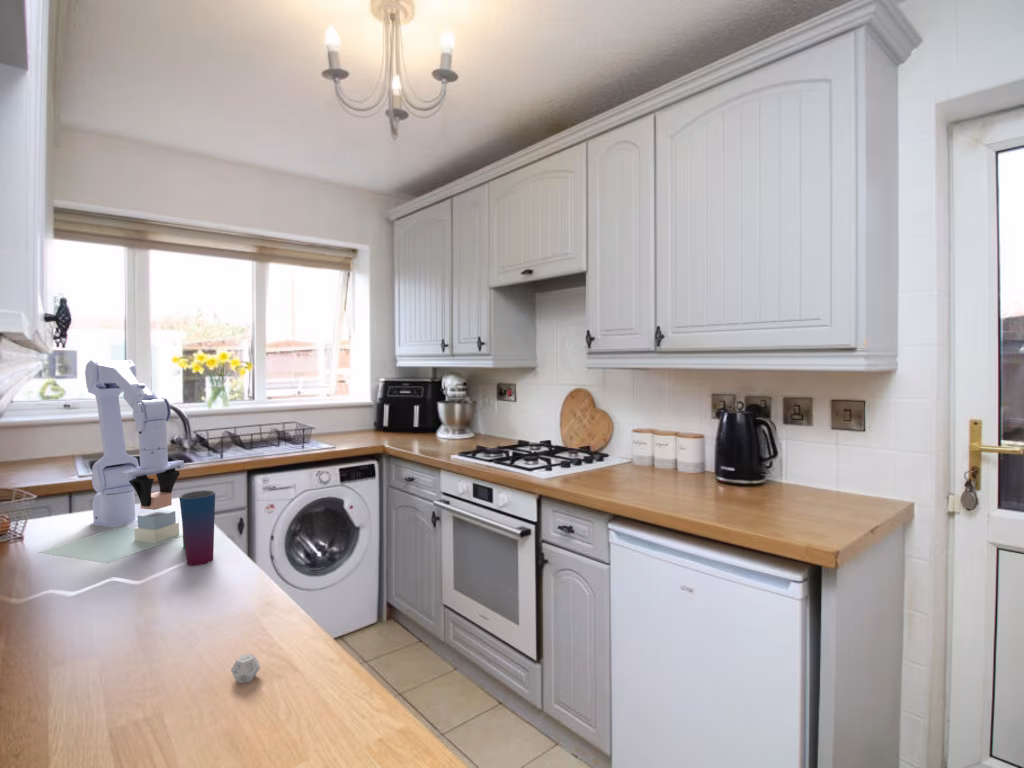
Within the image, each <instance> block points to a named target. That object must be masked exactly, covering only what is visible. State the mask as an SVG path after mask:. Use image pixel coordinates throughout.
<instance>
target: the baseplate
mask: <svg viewBox="0 0 1024 768" xmlns="http://www.w3.org/2000/svg"><path fill="white" fill-rule="evenodd" d="M134 528H135V527H130V526H123V525H121V526H118V527H113V528H111V529H108V530H104V531H102V532H99V533H95V534H92V535H89V536H86V537H82V538H80V539H77V540H72V541H70V542H66V543H63V544H60V545H57V546H53V547H50V548H46V549H44V550H40V551H39V553H42V554H49V555H54V556H59V557H66V558H74V559H79V560H84V561H85V560H86V561H91V562H97V563H102V564H103V563H104V564H110V563H112V562H115V561H118V560H120V559H123V558H126V557H129V556H132V555H134V554H137V553H139V552H142V551H145V550H148V549H151V548H153V547H157V546H158V545H162V544H164V543H167V542H170V541H172V540H173V541H174V540H175V539H177V538H181V537H183V533H179V535H176V536H173V537H170V538H168V539H165V540H162V541H159V542H157V543H151V542H144V541H137V540H135V531H134Z"/></svg>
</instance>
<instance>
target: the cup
mask: <svg viewBox="0 0 1024 768" xmlns="http://www.w3.org/2000/svg"><path fill="white" fill-rule="evenodd" d="M179 505H180V514H181V515H180V516H181V523H182V524H183V528H182V534H183V533H184V542H185V549H184V550H185V557H186V558H185V560H186V564H187V565H188V566H191V565H192V566H194V567H196V565H197V566H202V564H203V565H207V564H209V563H210V562H212V561H214V547H215V519H216V518H215V516H216V515H215V514H216V513H215V512H216V491H215V490H211V489H207V490H195V491H194V490H193V491H189V492H185V493H182V494H180V495H179ZM182 524H181V525H182ZM208 562H209V563H208Z"/></svg>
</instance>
